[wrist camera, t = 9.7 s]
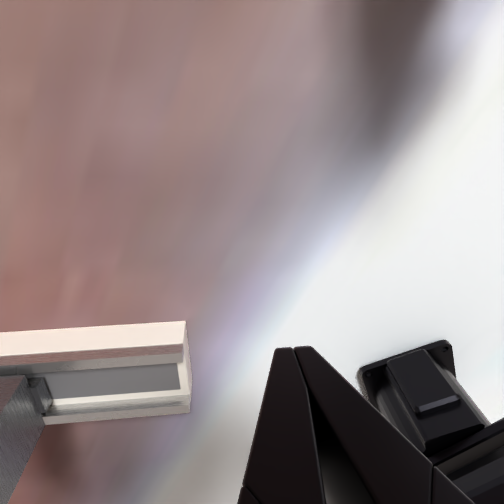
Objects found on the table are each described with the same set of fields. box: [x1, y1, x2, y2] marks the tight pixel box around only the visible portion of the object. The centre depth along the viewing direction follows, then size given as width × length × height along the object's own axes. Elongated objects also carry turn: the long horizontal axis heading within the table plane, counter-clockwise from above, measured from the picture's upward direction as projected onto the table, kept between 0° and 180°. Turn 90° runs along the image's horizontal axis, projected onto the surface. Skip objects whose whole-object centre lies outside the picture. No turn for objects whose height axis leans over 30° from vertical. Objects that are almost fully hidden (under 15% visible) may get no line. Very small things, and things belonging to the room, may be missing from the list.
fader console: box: [0, 321, 192, 425], centre depth 21 cm, size 14×5×4 cm, turn 91°
